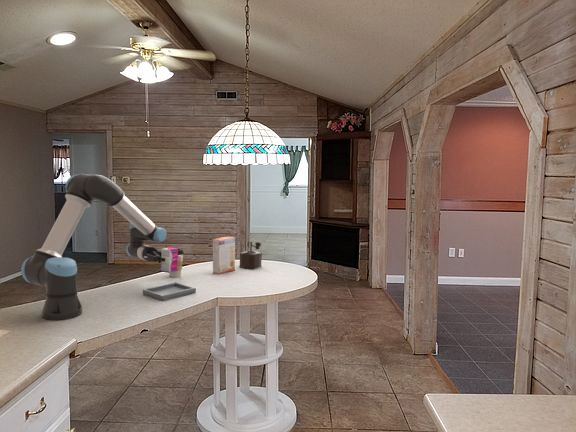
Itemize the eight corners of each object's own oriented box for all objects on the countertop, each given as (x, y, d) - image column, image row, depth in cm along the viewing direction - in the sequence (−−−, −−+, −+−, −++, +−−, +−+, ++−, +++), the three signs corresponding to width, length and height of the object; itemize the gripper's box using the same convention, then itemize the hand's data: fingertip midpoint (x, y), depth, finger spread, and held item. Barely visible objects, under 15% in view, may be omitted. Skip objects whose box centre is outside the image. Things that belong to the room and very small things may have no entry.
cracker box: (228, 269, 285) (228, 235, 283) (235, 270, 281) (235, 237, 279) (211, 272, 274) (212, 238, 271) (219, 274, 270) (219, 239, 268)
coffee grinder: (238, 267, 290) (238, 239, 288) (248, 264, 300) (249, 237, 298) (258, 271, 282) (258, 242, 280) (268, 267, 291) (269, 240, 290)
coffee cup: (179, 278, 258) (179, 252, 257) (163, 277, 260) (163, 251, 259) (186, 274, 268) (186, 249, 266) (171, 273, 270) (171, 248, 268)
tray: (162, 301, 214) (162, 295, 214) (142, 294, 224) (142, 289, 224) (195, 292, 230) (195, 287, 230) (175, 286, 240) (175, 282, 240)
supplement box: (169, 273, 222) (169, 249, 221) (160, 271, 225) (160, 248, 224) (178, 271, 227) (178, 248, 226) (169, 269, 230) (169, 246, 229)
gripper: (163, 257, 244) (191, 264, 230) (131, 263, 229) (159, 270, 215) (163, 244, 243) (191, 249, 229) (131, 248, 228) (159, 254, 214)
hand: (175, 259), depth 222 cm, fingers closed on supplement box, 6 cm apart
